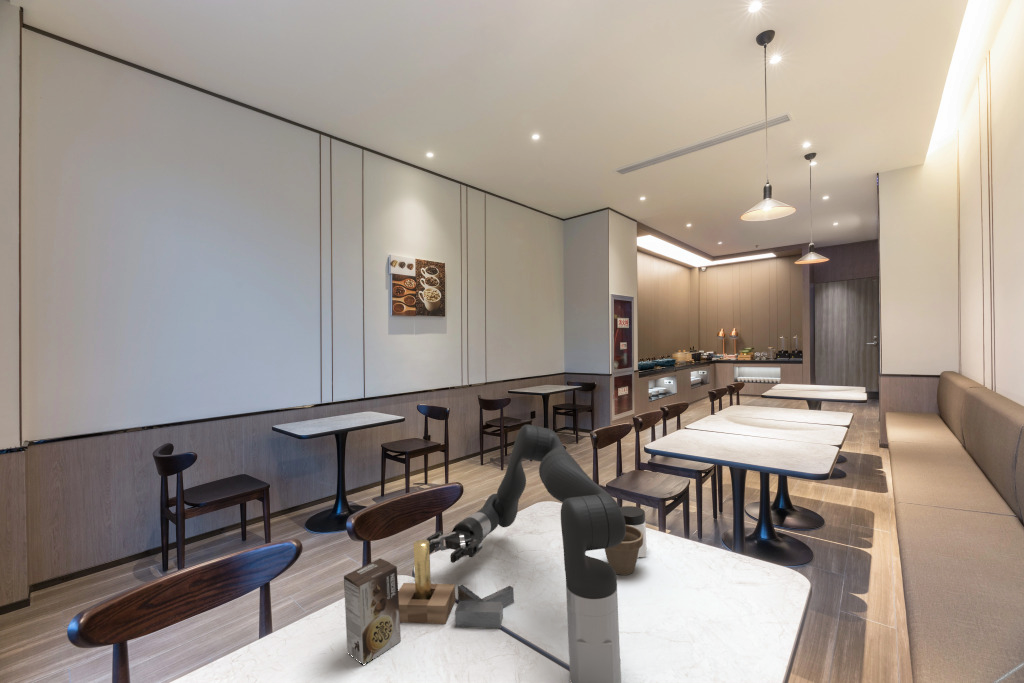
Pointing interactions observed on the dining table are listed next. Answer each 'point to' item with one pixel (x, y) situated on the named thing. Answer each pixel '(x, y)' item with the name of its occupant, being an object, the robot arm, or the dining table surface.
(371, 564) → the coffee box
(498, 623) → the v block
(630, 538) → the flower pot
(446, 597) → the hollow rectangular block
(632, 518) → the jar
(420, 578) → the axle
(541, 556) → the dining table surface
